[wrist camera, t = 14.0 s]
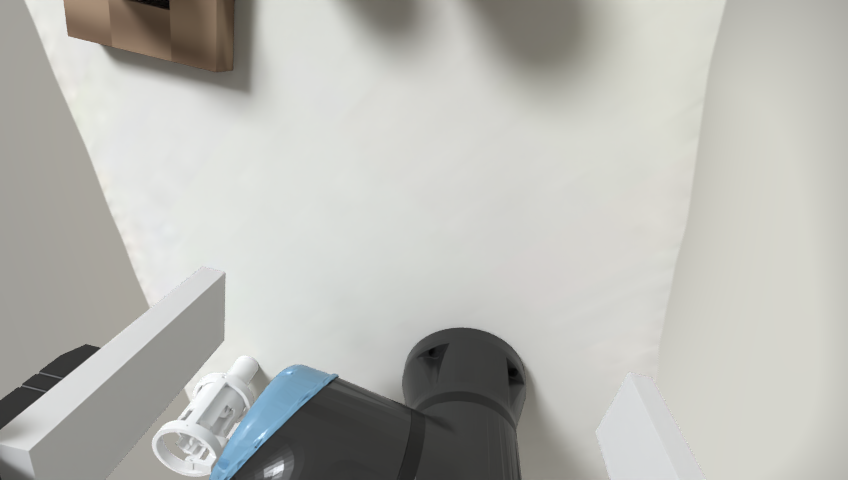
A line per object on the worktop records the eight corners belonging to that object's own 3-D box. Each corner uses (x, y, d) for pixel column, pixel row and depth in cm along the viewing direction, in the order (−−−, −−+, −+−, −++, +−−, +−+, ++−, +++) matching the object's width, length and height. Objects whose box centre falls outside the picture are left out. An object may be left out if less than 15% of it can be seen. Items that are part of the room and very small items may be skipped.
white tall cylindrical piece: (271, 390, 59) (210, 493, 45) (221, 377, 59) (145, 476, 46) (274, 351, 56) (210, 448, 43) (222, 337, 56) (142, 430, 43)
